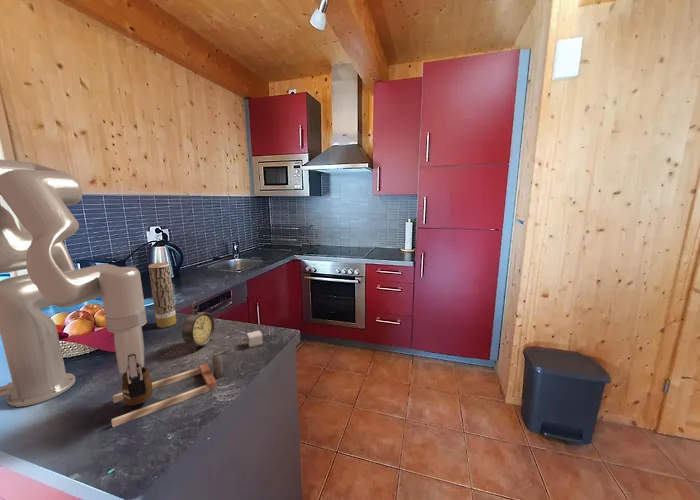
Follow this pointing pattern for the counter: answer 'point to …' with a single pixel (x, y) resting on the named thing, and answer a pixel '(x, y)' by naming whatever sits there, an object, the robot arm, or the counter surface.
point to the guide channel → (157, 406)
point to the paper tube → (162, 294)
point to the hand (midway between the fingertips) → (137, 387)
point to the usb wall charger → (253, 339)
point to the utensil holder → (140, 398)
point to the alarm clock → (198, 328)
